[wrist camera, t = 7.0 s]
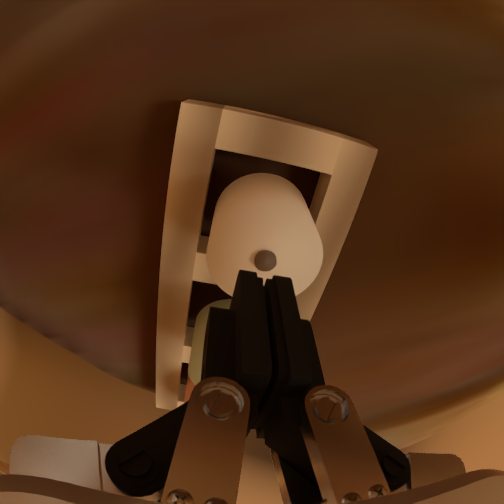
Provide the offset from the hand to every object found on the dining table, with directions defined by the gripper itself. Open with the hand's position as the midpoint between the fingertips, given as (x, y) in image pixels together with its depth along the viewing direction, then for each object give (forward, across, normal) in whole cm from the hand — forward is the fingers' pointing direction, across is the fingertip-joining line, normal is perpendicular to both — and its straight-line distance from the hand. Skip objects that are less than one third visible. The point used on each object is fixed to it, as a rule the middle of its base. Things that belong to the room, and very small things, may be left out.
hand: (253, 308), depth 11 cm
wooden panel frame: (+9, -1, +8) cm, 12 cm away
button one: (+7, -1, 0) cm, 7 cm away
